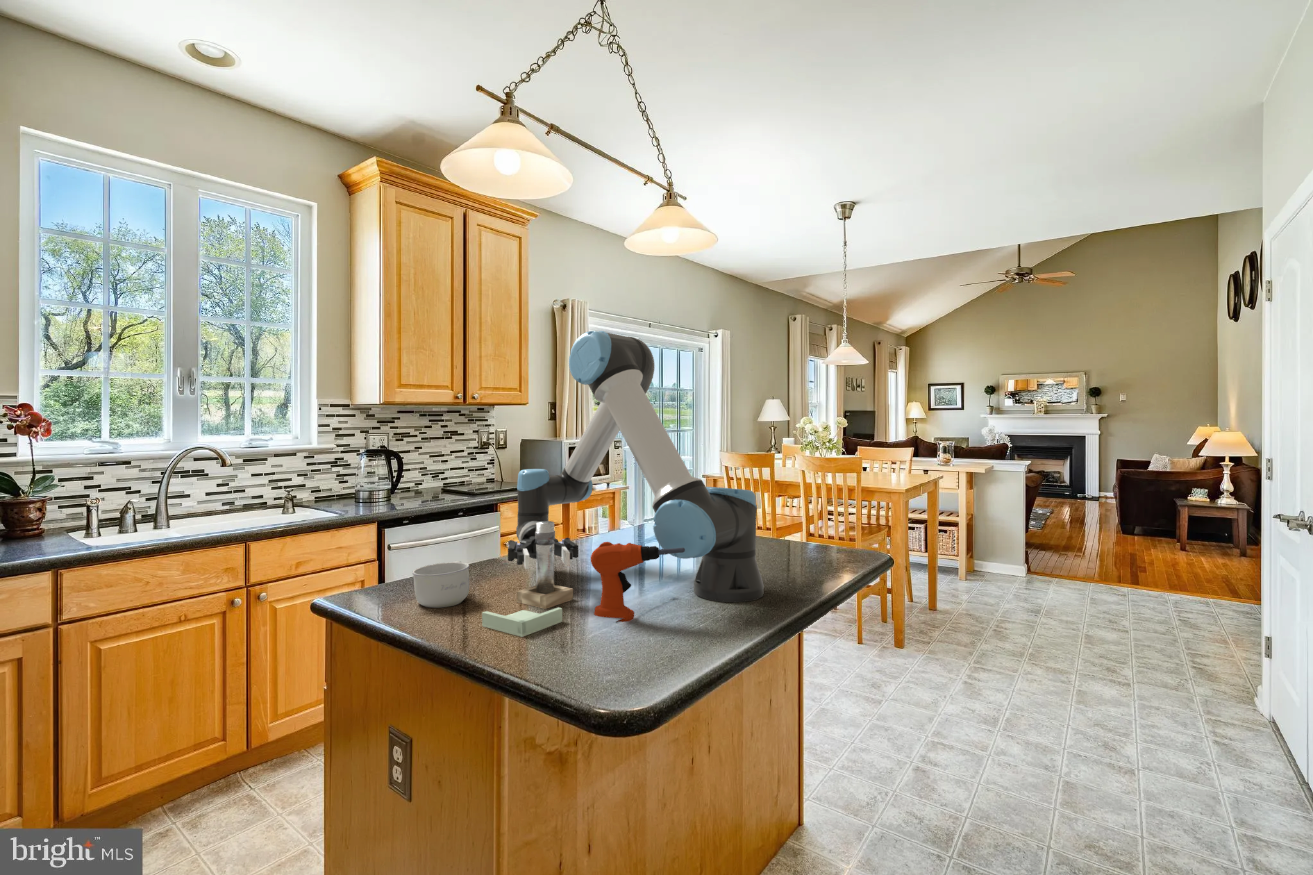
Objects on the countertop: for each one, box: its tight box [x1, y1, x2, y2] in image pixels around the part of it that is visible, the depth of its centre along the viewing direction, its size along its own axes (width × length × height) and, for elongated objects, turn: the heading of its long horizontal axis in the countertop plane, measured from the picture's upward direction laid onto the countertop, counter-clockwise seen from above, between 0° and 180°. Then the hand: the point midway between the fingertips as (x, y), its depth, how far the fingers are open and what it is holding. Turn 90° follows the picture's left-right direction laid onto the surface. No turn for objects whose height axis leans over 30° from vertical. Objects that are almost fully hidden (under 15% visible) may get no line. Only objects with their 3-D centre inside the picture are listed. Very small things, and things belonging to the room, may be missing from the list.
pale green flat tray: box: [481, 607, 563, 638], centre depth 112 cm, size 10×10×3 cm
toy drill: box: [590, 541, 685, 623], centre depth 117 cm, size 5×19×15 cm, turn 82°
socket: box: [516, 584, 574, 610], centre depth 127 cm, size 8×8×3 cm
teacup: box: [412, 560, 470, 609], centre depth 127 cm, size 14×11×8 cm
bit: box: [535, 520, 556, 594], centre depth 126 cm, size 4×4×16 cm
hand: (547, 560), depth 122 cm, fingers open, 7 cm apart
